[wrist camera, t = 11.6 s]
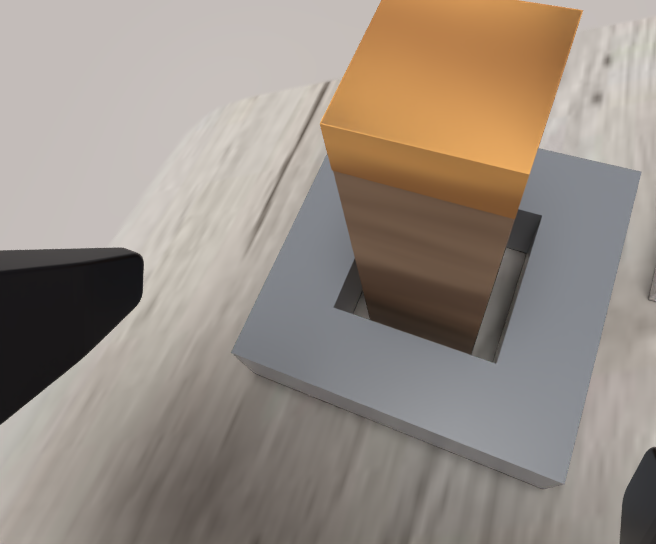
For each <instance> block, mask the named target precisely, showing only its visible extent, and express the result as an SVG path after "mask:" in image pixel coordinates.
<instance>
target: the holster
mask: <svg viewBox="0 0 656 544" xmlns="http://www.w3.org/2000/svg"><path fill="white" fill-rule="evenodd" d="M648 300H652V301H655V302H656V268H655V272H654V277H653V281H652V286H651V290H650V295H649V299H648Z"/></svg>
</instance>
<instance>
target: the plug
mask: <svg viewBox="0 0 656 544" xmlns="http://www.w3.org/2000/svg"><path fill="white" fill-rule="evenodd" d="M582 12H583V10H578V9H572V8H565V7H558V6H552V5H545V4H538V3H532V2H525V1H519V0H381V2H380V4H379V6H378V8H377V10H376V12H375V14H374V16H373V18H372V20H371V22H370V24H369V26H368V28H367V30H366V32H365V34H364V36H363V38H362V40H361V42H360V44H359V46H358V48H357V50H356V52H355V54H354V56H353V58H352V60H351V62H350V64H349V66H348V68H347V70H346V72H345V74H344V76H343V78H342V80H341V82H340V84H339V86H338V88H337V90H336V92H335V94H334V96H333V98H332V100H331V102H330V104H329V106H328V108H327V110H326V112H325V114H324V116H323V118H322V120H321V122H320V126H321V130H322V134H323V138H324V142H325V146H326V150H327V154H328V158H329V162H330V166H331V170H332V171H333V173H334V177H335V181H336V185H337V189H338V193H339V197H340V201H341V205H342V209H343V213H344V217H345V221H346V225H347V229H348V233H349V237H350V241H351V245H352V249H353V253H354V257H355V261H356V265H357V269H358V273H359V277H360V281H361V285H362V289H363V293H364V297H365V301H366V305H367V309H368V313H369V317H370V320H371V321H374V322H377V323H380V324H383V325H386V326H388V327H391V328H394V329H397V330H400V331H403V332H406V333H409V334H412V335H414V336H417V337H420V338H423V339H426V340H429V341H432V342H435V343H438V344H441V345H443V346H446V347H449V348H452V349H455V350H458V351H461V352H464V353H467V354H469V355H471V353H472V350H473V347H474V344H475V341H476V338H477V335H478V332H479V329H480V326H481V323H482V320H483V317H484V313H485V310H486V307H487V304H488V301H489V298H490V295H491V292H492V289H493V286H494V283H495V280H496V277H497V274H498V271H499V268H500V265H501V261H502V258H503V255H504V252H505V249H506V246H507V243H508V240H509V237H510V233H511V230H512V227H513V224H514V221H515V218H516V215H517V212H518V208H519V205H520V202H521V199H522V196H523V193H524V190H525V187H526V184H527V181H528V178H529V175H530V172H531V169H532V166H533V163H534V160H535V157H536V153H537V150H538V147H539V144H540V141H541V138H542V135H543V132H544V129H545V126H546V123H547V120H548V117H549V114H550V111H551V108H552V105H553V102H554V99H555V95H556V92H557V89H558V86H559V83H560V80H561V77H562V74H563V71H564V68H565V65H566V62H567V59H568V56H569V52H570V49H571V46H572V43H573V40H574V37H575V34H576V31H577V28H578V25H579V21H580V18H581V15H582Z"/></svg>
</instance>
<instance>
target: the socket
mask: <svg viewBox="0 0 656 544" xmlns="http://www.w3.org/2000/svg"><path fill="white" fill-rule="evenodd" d="M640 176H641V172H640V171H636V170H631V169H627V168H623V167H618V166H614V165H609V164H605V163H601V162H596V161H592V160H587V159H583V158H579V157H574V156H570V155H565V154H561V153H557V152H552V151H548V150H544V149H539V148H538V150H537V153H536V157H535V160H534V163H533V166H532V169H531V172H530V175H529V178H528V181H527V184H526V187H525V190H524V193H523V196H522V199H521V202H520V205H519V208H518V212H517V215H516V218H515V221H514V224H513V227H512V230H511V233H510V237H509V240H508V243H507V246H506V247H507V248H511V249H514V250H518V251H521V252H525V253H527V255H526V258H525V261H524V264H523V268H522V271H521V274H520V277H519V280H518V284H517V287H516V290H515V293H514V296H513V300H512V303H511V306H510V309H509V313H508V316H507V319H506V322H505V325H504V329H503V332H502V335H501V338H500V341H499V345H498V348H497V351H496V354H495V357H494V361H493V362H490V361H487V360H484V359H481V358H478V357H475V356H472V355H469V354H467V353H464V352H461V351H458V350H455V349H452V348H449V347H446V346H443V345H441V344H438V343H435V342H432V341H429V340H426V339H423V338H420V337H417V336H414V335H412V334H409V333H406V332H403V331H400V330H397V329H394V328H391V327H388V326H386V325H383V324H380V323H377V322H374V321H371V320H368V319H365V318H362V317H360V316H357V315H354V314H353V312H354V309H355V307H356V304H357V302H358V300H359V297H360V295H361V292H362V290H363V289H362V285H361V281H360V277H359V273H358V269H357V265H356V261H355V257H354V253H353V249H352V245H351V241H350V237H349V233H348V229H347V225H346V221H345V217H344V213H343V209H342V205H341V201H340V197H339V193H338V189H337V185H336V181H335V177H334V173H333V171H332V170H331V166H330V162H329V158H328V154H327V155H326V157H325V159H324V161H323V163H322V165H321V167H320V169H319V172H318V174H317V176H316V178H315V180H314V182H313V184H312V186H311V188H310V190H309V192H308V194H307V196H306V198H305V200H304V203H303V205H302V207H301V209H300V211H299V213H298V215H297V217H296V219H295V221H294V223H293V225H292V227H291V229H290V232H289V234H288V236H287V238H286V240H285V242H284V244H283V246H282V248H281V250H280V252H279V254H278V256H277V258H276V261H275V263H274V265H273V267H272V269H271V271H270V273H269V275H268V277H267V279H266V281H265V283H264V285H263V287H262V289H261V292H260V294H259V296H258V298H257V300H256V302H255V304H254V306H253V308H252V310H251V312H250V314H249V316H248V318H247V321H246V323H245V325H244V327H243V329H242V331H241V333H240V335H239V337H238V339H237V341H236V343H235V345H234V347H233V350H232V352H231V353H232V354H233V355H234V356H235V357H237V358H238V359H239V360H240V361H241V362H242V363H244V364H245V365H246V366H247V367H248V368H249V369H250V370H252V371H253V372H254V373H255V374H258V375H260V376H263V377H265V378H268V379H270V380H273V381H275V382H278V383H280V384H282V385H285V386H287V387H290V388H292V389H295V390H297V391H300V392H302V393H305V394H307V395H310V396H312V397H315V398H317V399H320V400H322V401H325V402H327V403H330V404H332V405H335V406H337V407H340V408H342V409H345V410H347V411H350V412H352V413H355V414H357V415H360V416H362V417H365V418H367V419H370V420H372V421H375V422H377V423H380V424H382V425H385V426H387V427H390V428H392V429H395V430H397V431H400V432H402V433H405V434H407V435H410V436H412V437H415V438H417V439H420V440H422V441H425V442H427V443H430V444H432V445H434V446H437V447H439V448H442V449H444V450H447V451H449V452H452V453H454V454H457V455H459V456H462V457H464V458H467V459H469V460H472V461H474V462H477V463H479V464H482V465H484V466H487V467H489V468H492V469H494V470H497V471H499V472H502V473H504V474H507V475H509V476H512V477H514V478H517V479H519V480H522V481H524V482H527V483H529V484H532V485H534V486H537V487H539V488H542V489H545V488H550V487H554V486H559V485H563V484H565V480H566V476H567V472H568V468H569V464H570V460H571V456H572V452H573V448H574V444H575V440H576V436H577V432H578V428H579V423H580V419H581V415H582V411H583V407H584V403H585V399H586V395H587V391H588V387H589V383H590V379H591V375H592V371H593V367H594V363H595V358H596V354H597V350H598V346H599V342H600V338H601V334H602V330H603V326H604V322H605V318H606V314H607V310H608V306H609V302H610V298H611V293H612V289H613V285H614V281H615V277H616V273H617V269H618V265H619V261H620V257H621V253H622V249H623V245H624V241H625V237H626V232H627V228H628V224H629V220H630V216H631V212H632V208H633V204H634V200H635V196H636V192H637V188H638V184H639V180H640Z"/></svg>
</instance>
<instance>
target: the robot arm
mask: <svg viewBox="0 0 656 544" xmlns="http://www.w3.org/2000/svg"><path fill="white" fill-rule="evenodd" d="M143 271H144V261H143V258H142V256H141V255H140V254H138V253H136V252H134V251H131V250H128V249H126V248H85V249H43V250H7V251H6V250H3V251H0V425H1V424H2V423H3V422H4V421H6V420H7V419H8V418H9V417H11V416H12V415H13V414H14V413H16V412H17V411H18V410H19V409H21V408H22V407H23V406H24V405H26V404H27V403H28V402H29V401H31V400H32V399H33V398H34V397H36V396H37V395H38V394H39V393H40V392H42V391H43V390H44V389H45V388H47V387H48V386H49V385H50V384H52V383H53V382H54V381H55V380H57V379H58V378H59V377H60V376H62V375H63V374H64V373H65V372H67V371H68V370H69V369H70V368H71V367H73V366H74V365H75V364H76V363H78V362H79V361H80V360H81V359H82V358H83V357H85V356H86V355H87V354H88V353H89V352H90V351H91V350H92V349H93V348H94V347H95V346H96V345H97V344H98V343H99V342H100V341H101V340H102V339H103V338H104V337H105V336H107V335H108V334H109V333H110V332H111V331H112V330H113V329H114V328H115V327H116V326H117V325H118V324H119V323H120V322H121V321H122V320H123V319H124V318H125V317H126V316H127V315H128V314H129V313H130V312H131V311H132V310H133V309H134V308H135V307H136V306H137V305H138V303H139V302H140V300H141V297H142V293H143ZM620 544H656V447H652V448H650V449H649V450H648V451H647V452H646V453H645V455H644V457H643V459H642V460H641V462H640V464H639V466H638V468H637V470H636V471H635V473H634V475H633V477H632V479H631V481H630V483H629V484H628V486H627V488H626V491H625V494H624V497H623V503H622V515H621V530H620Z"/></svg>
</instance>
